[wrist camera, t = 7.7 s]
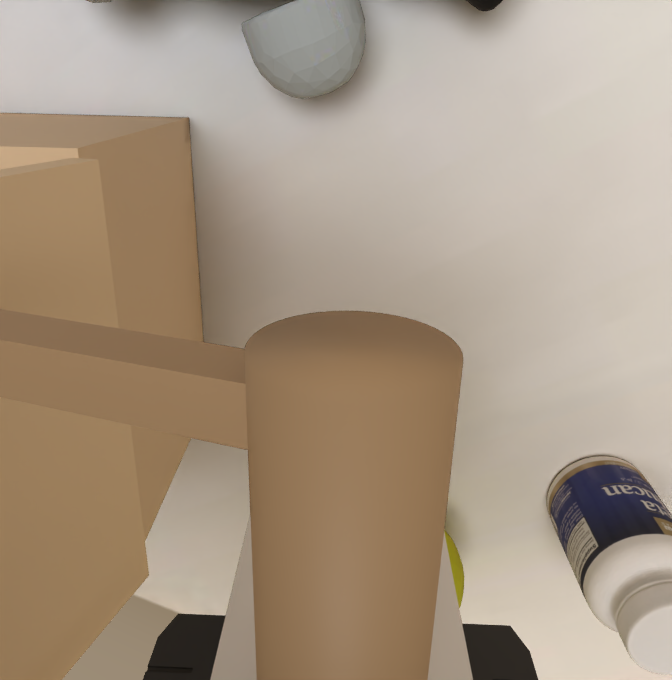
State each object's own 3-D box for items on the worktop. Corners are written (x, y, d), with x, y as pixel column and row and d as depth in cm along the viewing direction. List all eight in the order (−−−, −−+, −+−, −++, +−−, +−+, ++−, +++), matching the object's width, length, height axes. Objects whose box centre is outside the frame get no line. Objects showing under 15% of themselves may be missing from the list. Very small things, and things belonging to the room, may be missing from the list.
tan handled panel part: (72, 157, 16) (519, 190, 13) (128, 569, 22) (456, 663, 18) (-416, 237, 8) (447, 375, 5) (-132, 864, 13) (371, 1122, 10)
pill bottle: (658, 458, 34) (769, 599, 25) (627, 538, 36) (719, 695, 27) (558, 446, 33) (633, 583, 24) (533, 527, 36) (594, 681, 27)
